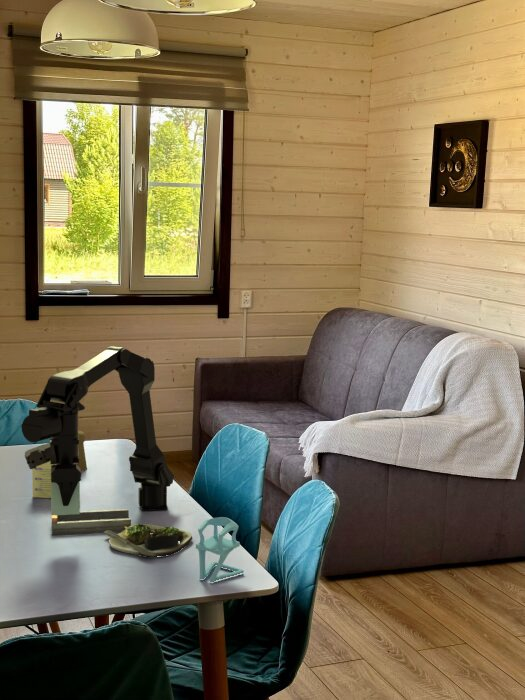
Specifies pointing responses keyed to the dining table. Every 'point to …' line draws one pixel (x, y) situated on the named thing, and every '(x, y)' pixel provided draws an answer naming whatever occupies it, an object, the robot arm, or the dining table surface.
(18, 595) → the dining table surface
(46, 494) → the box
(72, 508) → the module
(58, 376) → the robot arm
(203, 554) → the chair
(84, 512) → the rail
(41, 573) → the dining table surface
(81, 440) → the cork
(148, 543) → the salad plate
